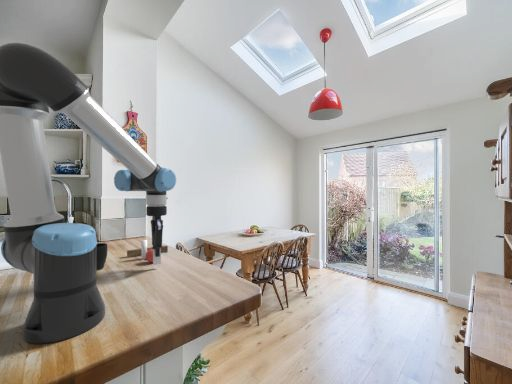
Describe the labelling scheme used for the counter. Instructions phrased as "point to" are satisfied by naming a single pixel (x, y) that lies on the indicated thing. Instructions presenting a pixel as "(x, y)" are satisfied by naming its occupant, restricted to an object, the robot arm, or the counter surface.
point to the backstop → (138, 252)
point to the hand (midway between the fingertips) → (156, 263)
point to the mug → (101, 255)
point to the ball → (149, 255)
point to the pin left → (144, 249)
